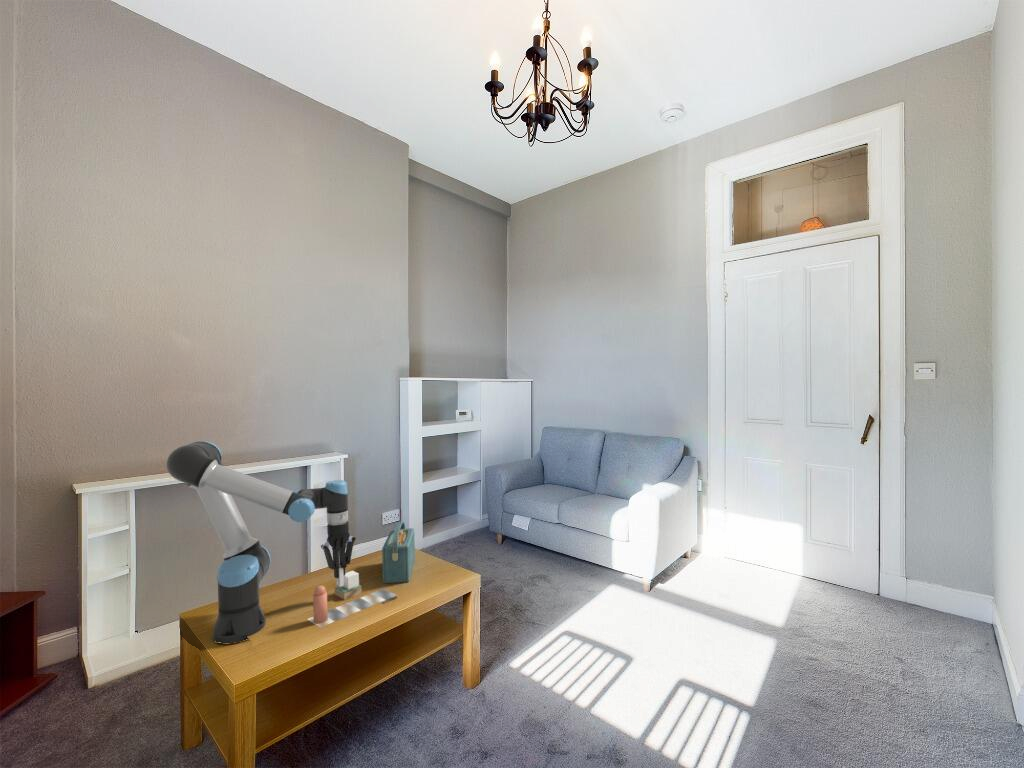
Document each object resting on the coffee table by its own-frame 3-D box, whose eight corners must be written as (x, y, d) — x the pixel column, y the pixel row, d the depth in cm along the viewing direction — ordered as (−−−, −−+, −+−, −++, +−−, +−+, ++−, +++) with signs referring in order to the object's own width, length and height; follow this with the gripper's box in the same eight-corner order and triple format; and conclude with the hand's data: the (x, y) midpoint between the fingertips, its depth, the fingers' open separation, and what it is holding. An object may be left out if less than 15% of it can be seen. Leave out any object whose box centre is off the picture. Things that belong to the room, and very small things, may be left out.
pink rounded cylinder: (317, 624, 155) (316, 589, 155) (311, 620, 157) (310, 586, 157) (330, 619, 158) (329, 585, 158) (323, 615, 161) (322, 582, 161)
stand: (344, 603, 172) (344, 592, 172) (335, 597, 177) (334, 587, 177) (361, 596, 178) (361, 585, 178) (351, 591, 182) (351, 581, 182)
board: (320, 631, 153) (320, 627, 153) (307, 622, 159) (307, 619, 159) (396, 598, 176) (396, 594, 176) (383, 591, 181) (383, 588, 181)
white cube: (348, 589, 175) (347, 577, 175) (341, 586, 178) (341, 574, 178) (359, 585, 178) (358, 573, 178) (352, 582, 181) (352, 570, 181)
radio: (391, 561, 213) (390, 517, 213) (415, 559, 214) (414, 516, 214) (381, 585, 188) (380, 535, 188) (409, 583, 189) (408, 533, 189)
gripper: (326, 528, 167) (328, 594, 167) (359, 519, 177) (361, 581, 177) (316, 525, 172) (318, 588, 172) (348, 516, 182) (350, 577, 182)
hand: (340, 585), depth 175 cm, fingers closed
